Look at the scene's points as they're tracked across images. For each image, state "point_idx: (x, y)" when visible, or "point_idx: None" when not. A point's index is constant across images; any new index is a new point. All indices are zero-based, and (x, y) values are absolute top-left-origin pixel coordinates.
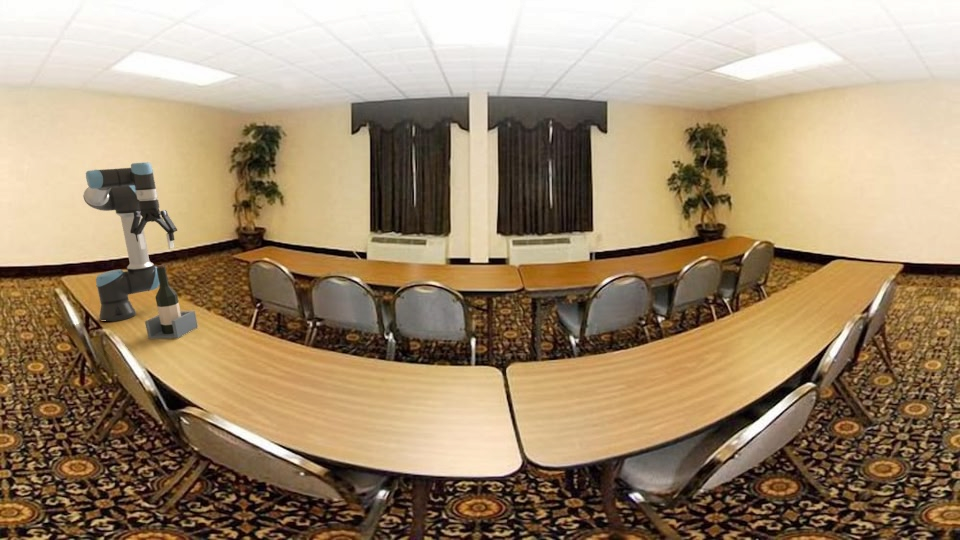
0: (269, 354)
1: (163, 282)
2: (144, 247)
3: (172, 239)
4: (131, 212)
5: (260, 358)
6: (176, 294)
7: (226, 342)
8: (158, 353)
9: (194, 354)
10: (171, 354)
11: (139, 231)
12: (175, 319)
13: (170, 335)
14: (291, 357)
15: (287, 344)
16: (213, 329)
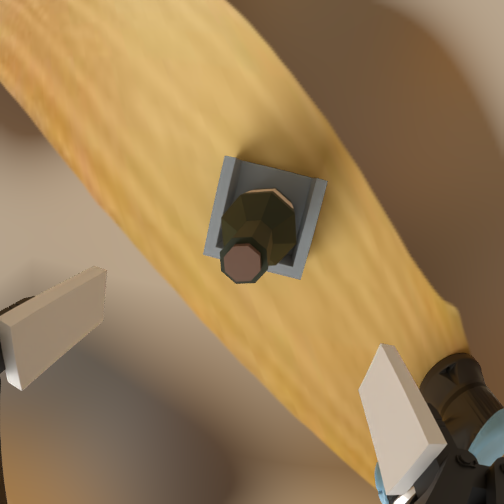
0: (34, 49)
1: (246, 224)
2: (366, 385)
3: (23, 302)
4: None
5: (44, 33)
6: (223, 239)
7: (105, 107)
8: (239, 59)
9: (152, 44)
10: (204, 48)
11: (423, 494)
12: (229, 172)
13: (258, 172)
14: (13, 42)
15: (15, 92)
16: (165, 214)
